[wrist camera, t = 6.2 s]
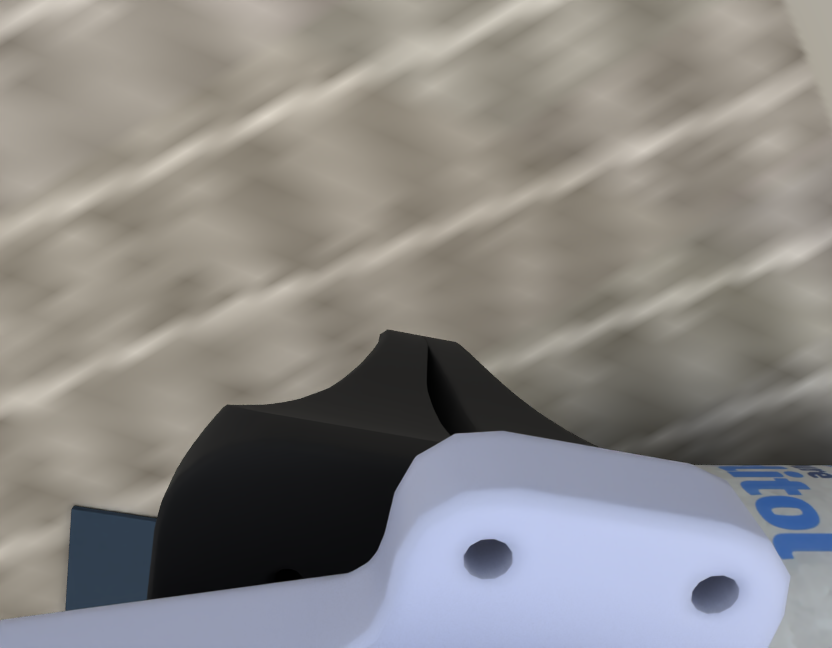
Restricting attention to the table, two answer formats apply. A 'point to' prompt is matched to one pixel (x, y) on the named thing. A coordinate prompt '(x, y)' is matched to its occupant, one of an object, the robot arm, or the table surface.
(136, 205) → the table surface
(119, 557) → the desk mat
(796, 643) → the supplement tub
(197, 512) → the robot arm
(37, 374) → the table surface
